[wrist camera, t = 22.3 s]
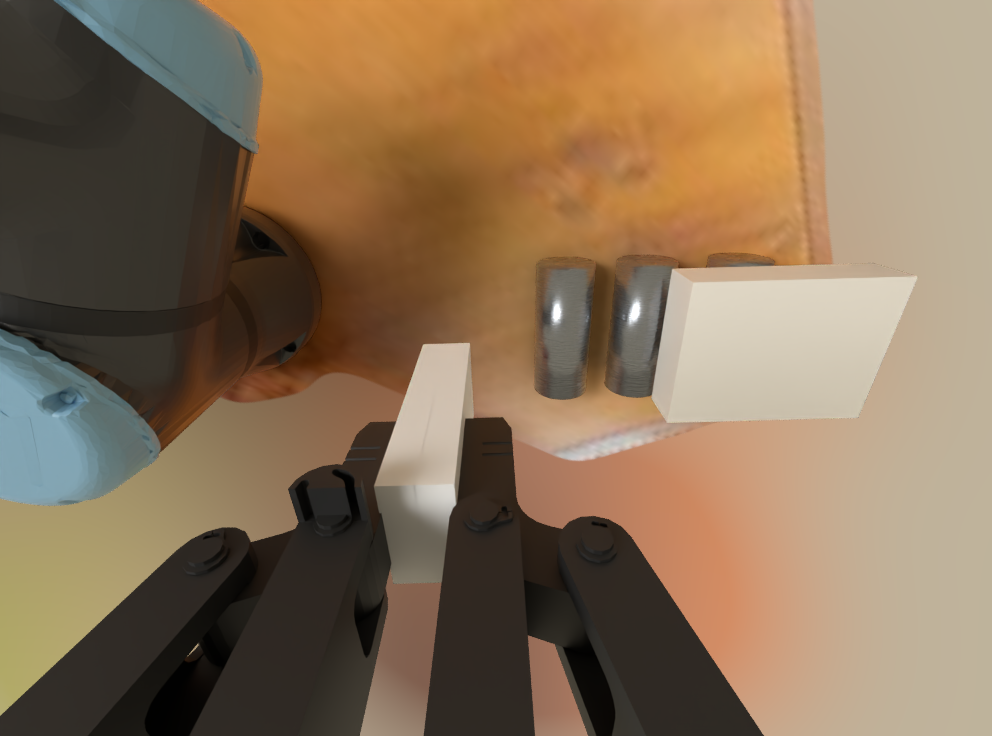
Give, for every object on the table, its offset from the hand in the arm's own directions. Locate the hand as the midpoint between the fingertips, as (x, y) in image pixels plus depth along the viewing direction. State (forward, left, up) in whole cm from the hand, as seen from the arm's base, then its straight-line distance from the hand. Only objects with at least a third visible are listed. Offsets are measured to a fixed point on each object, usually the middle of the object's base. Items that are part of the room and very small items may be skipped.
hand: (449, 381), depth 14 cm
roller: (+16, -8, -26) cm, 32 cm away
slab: (+24, -8, -21) cm, 33 cm away
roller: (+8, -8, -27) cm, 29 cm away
